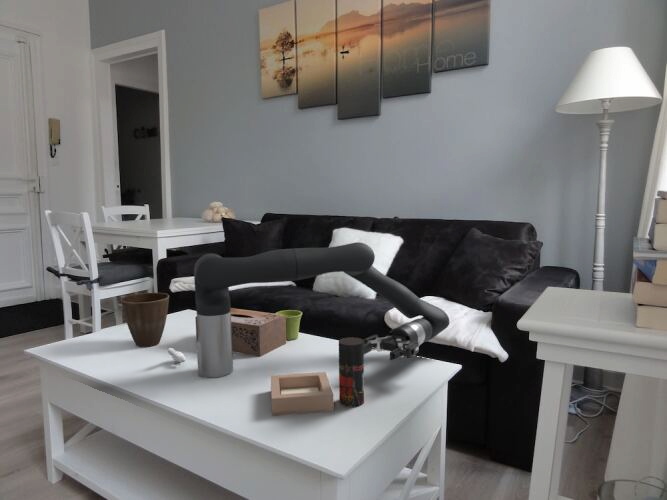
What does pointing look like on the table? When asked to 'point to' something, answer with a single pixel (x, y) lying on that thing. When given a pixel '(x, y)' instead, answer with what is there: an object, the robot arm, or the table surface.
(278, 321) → the tissue box cover
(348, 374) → the deodorant
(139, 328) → the plant pot
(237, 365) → the table surface
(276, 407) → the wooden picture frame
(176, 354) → the rabbit figurine
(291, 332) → the plant pot
